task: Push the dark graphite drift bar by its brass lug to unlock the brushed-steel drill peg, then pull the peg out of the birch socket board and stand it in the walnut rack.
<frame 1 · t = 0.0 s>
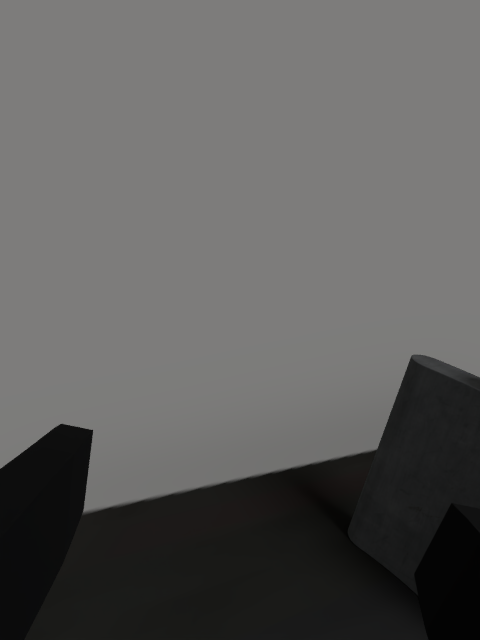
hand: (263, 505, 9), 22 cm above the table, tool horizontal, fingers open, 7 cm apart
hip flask: (429, 594, 37), on the table
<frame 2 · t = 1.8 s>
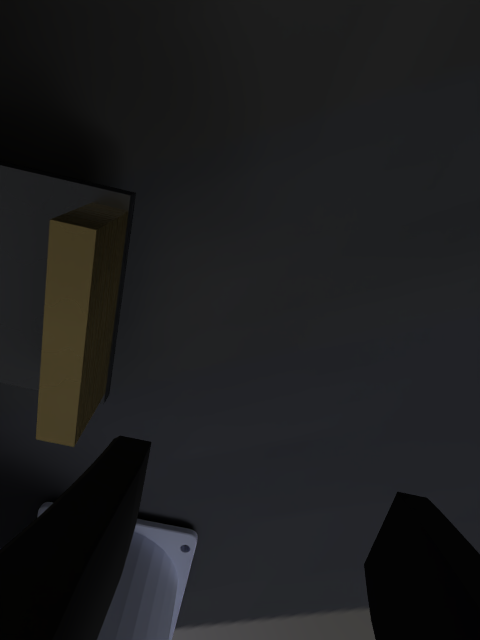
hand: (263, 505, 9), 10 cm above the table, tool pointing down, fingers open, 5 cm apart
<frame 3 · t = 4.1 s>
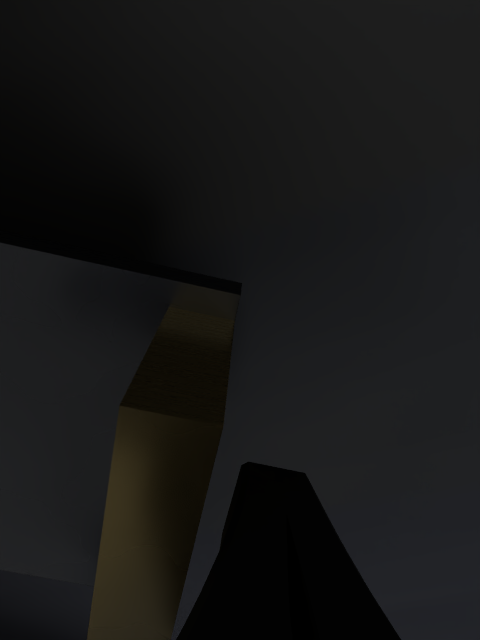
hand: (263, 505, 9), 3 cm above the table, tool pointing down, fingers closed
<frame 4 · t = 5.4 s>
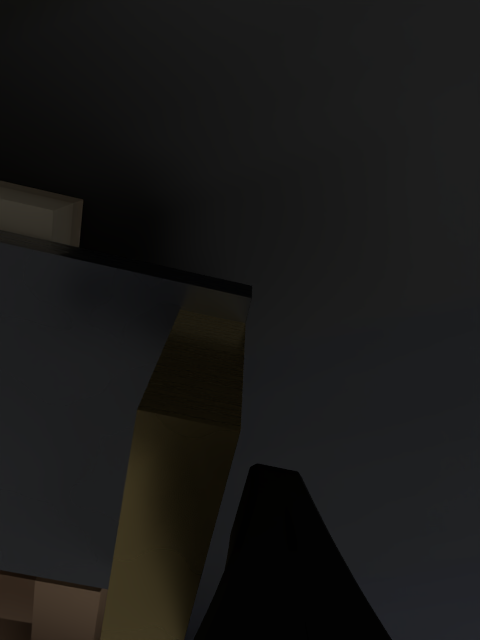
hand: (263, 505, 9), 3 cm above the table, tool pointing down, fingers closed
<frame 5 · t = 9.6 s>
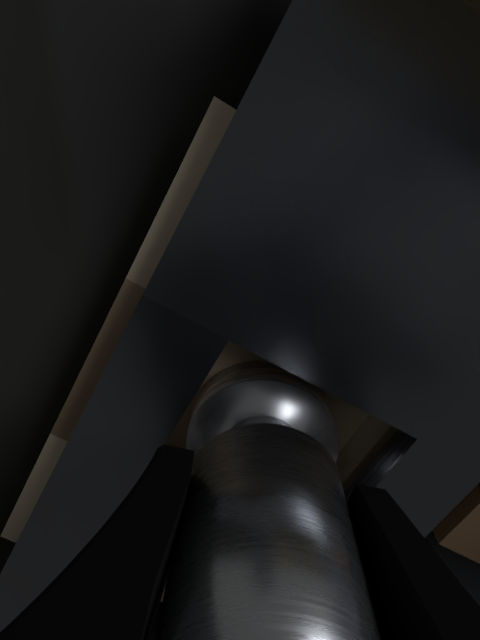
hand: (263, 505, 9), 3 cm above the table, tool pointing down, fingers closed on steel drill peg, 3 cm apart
socket board: (261, 409, 12), on the table
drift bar: (263, 524, 9), point 4 cm above the table, slide at 6.0 cm
steel drill peg: (261, 422, 12), point 1 cm above the table, touching gripper, socket board
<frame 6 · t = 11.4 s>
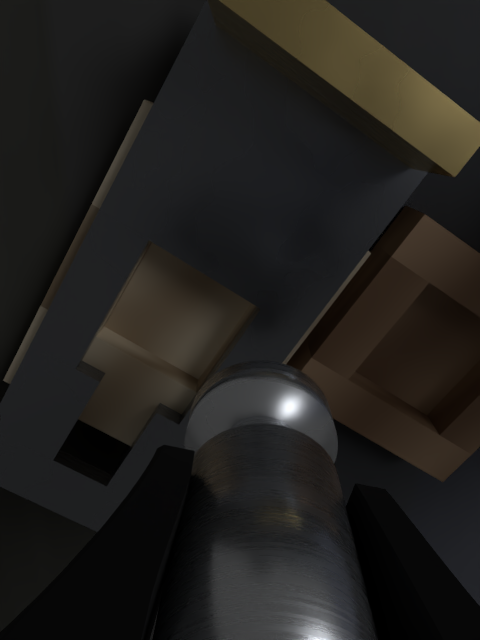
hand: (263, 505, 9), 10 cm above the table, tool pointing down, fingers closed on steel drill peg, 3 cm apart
socket board: (180, 306, 18), on the table
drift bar: (163, 347, 15), point 4 cm above the table, slide at 6.0 cm
steel drill peg: (260, 423, 12), point 7 cm above the table, touching gripper
walnut rack: (416, 341, 19), on the table
when the fingers open (4 cm above the table, at t = 13.3 s): steel drill peg stays where it is, resting on walnut rack.
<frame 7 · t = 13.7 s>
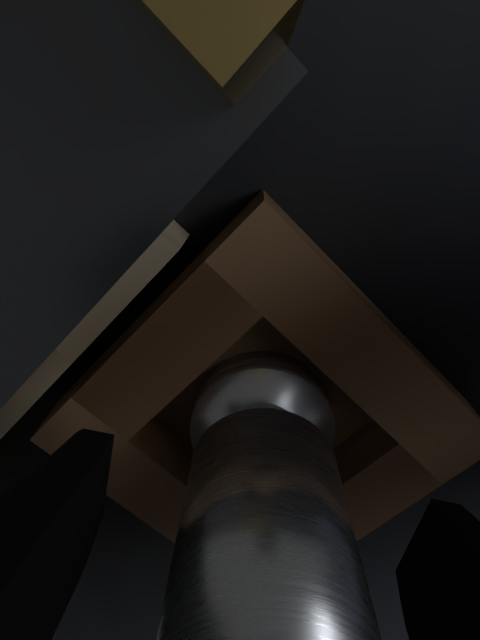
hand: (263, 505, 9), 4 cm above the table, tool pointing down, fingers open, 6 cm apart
steel drill peg: (261, 411, 12), point 1 cm above the table, touching walnut rack
walnut rack: (261, 397, 13), on the table
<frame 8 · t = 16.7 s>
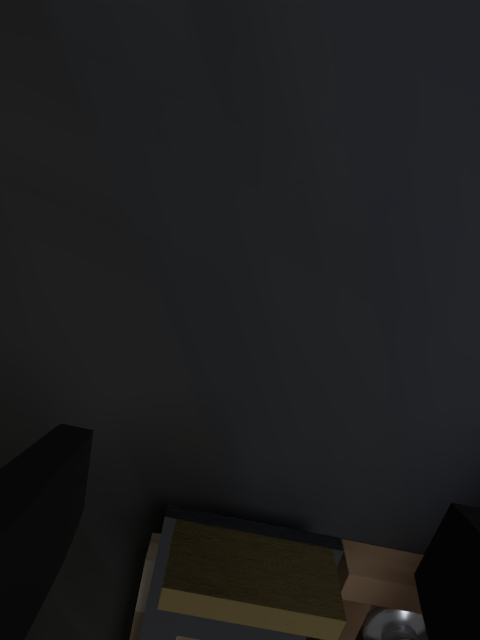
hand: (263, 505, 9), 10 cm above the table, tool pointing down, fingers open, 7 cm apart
socket board: (214, 623, 26), on the table
steel drill peg: (393, 616, 24), point 1 cm above the table, touching walnut rack
walnut rack: (389, 605, 25), on the table
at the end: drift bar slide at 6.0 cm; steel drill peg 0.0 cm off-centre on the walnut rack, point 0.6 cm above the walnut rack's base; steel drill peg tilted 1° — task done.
